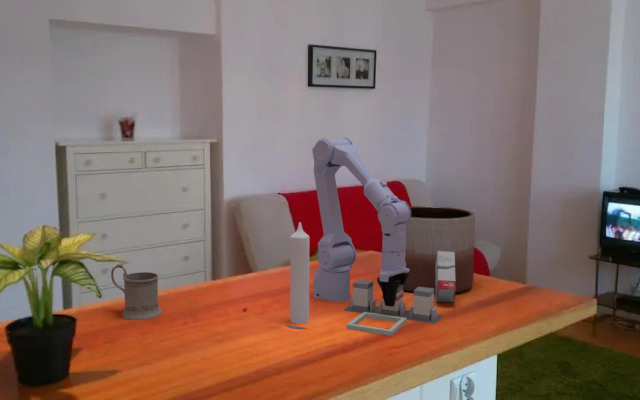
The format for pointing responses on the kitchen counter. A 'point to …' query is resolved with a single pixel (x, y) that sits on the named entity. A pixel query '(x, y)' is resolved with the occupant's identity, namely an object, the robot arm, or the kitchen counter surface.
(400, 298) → the red banded fuse
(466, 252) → the planter
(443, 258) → the ink box
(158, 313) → the mug
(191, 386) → the kitchen counter surface
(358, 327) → the grey square frame
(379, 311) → the board
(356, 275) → the kitchen counter surface
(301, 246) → the candle
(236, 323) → the kitchen counter surface
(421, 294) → the fuse right
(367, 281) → the block
